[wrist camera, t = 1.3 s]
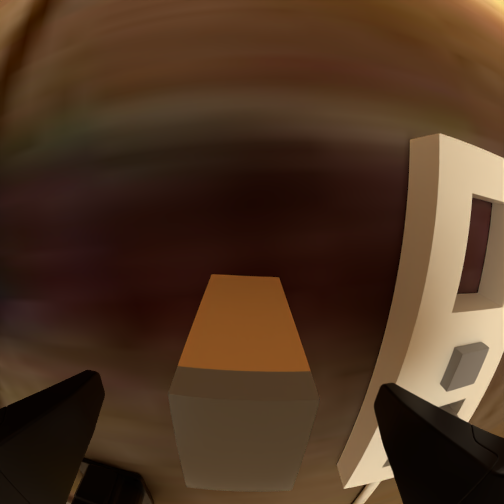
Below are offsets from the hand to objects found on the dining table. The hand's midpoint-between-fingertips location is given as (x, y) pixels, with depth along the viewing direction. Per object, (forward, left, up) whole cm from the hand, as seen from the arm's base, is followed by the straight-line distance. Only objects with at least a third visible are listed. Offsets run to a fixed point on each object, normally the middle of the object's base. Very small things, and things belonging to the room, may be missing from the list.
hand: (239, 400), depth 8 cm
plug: (0, 0, -6) cm, 6 cm away
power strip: (-7, -12, -6) cm, 15 cm away
